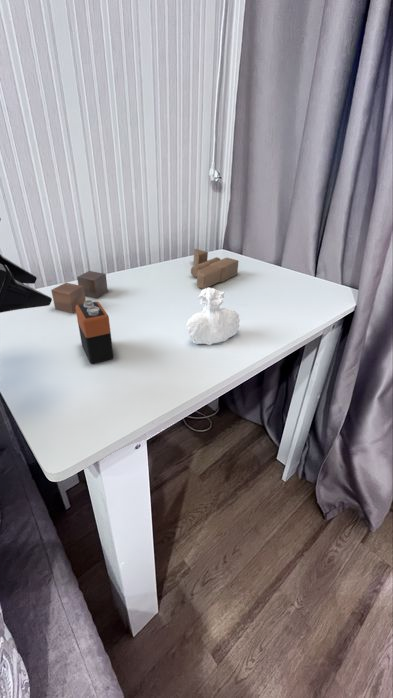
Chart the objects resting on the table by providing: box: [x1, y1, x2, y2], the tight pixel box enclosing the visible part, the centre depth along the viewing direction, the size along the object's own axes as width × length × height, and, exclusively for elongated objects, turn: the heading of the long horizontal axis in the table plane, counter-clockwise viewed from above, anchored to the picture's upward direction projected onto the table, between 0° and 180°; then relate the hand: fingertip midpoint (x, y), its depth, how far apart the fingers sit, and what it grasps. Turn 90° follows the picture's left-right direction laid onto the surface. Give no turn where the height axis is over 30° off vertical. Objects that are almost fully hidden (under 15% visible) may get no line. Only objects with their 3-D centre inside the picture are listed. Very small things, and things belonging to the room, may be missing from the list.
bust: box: [185, 287, 241, 346], centre depth 68 cm, size 12×8×11 cm
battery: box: [75, 299, 114, 365], centre depth 60 cm, size 4×7×10 cm, turn 29°
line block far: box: [76, 270, 109, 300], centre depth 84 cm, size 5×5×5 cm
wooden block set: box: [190, 248, 240, 290], centre depth 99 cm, size 17×6×18 cm
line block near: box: [50, 282, 87, 315], centre depth 77 cm, size 5×5×5 cm
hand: (42, 290), depth 49 cm, fingers open, 9 cm apart
